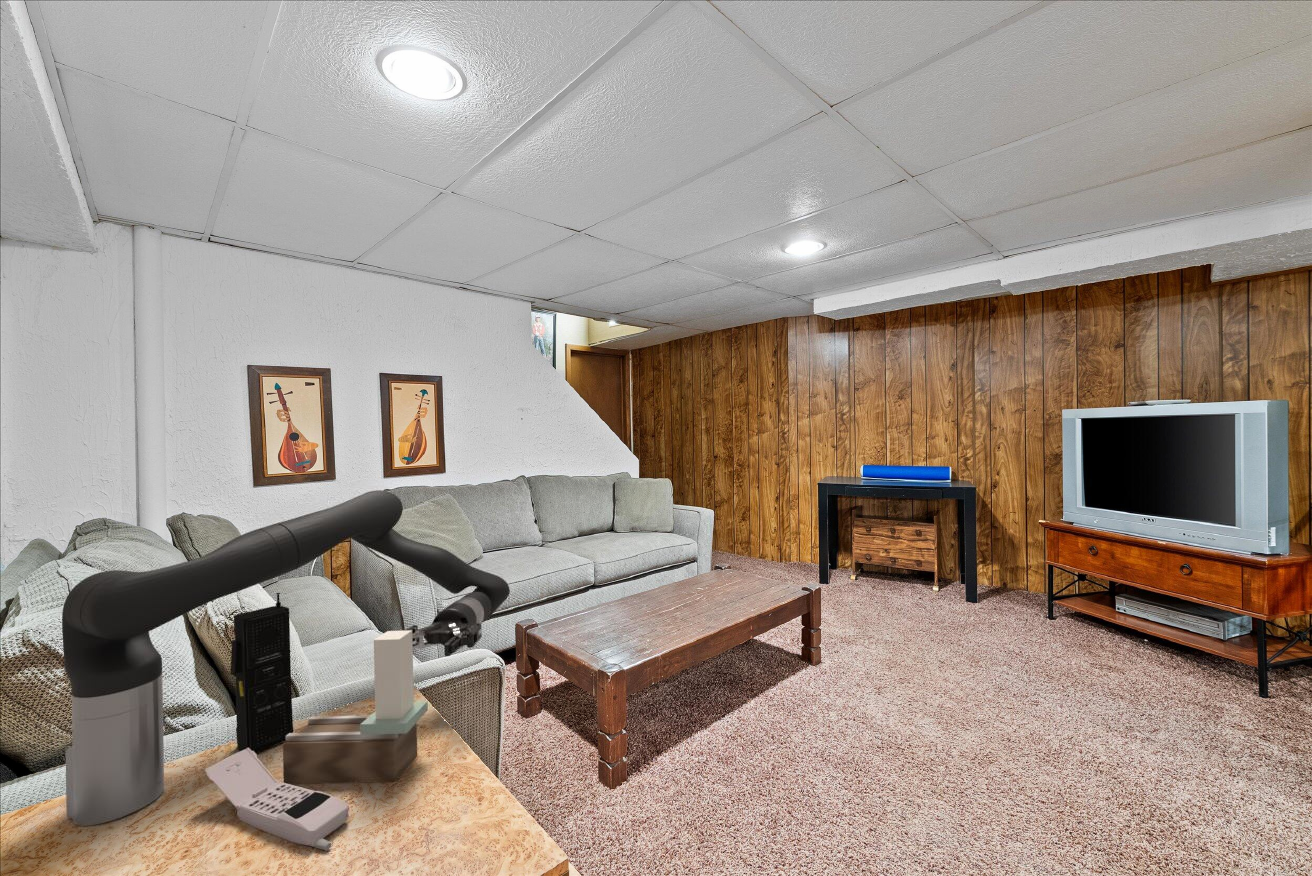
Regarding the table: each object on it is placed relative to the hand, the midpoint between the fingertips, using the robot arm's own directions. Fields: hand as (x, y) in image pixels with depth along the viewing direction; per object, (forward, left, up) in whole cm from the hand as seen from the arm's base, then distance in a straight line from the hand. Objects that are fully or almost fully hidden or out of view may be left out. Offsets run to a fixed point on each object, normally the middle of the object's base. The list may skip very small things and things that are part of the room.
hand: (422, 651), depth 92 cm
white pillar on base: (0, -9, -7) cm, 12 cm away
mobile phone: (-11, -20, -15) cm, 27 cm away
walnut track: (-7, -9, -15) cm, 19 cm away
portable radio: (-28, -2, -15) cm, 31 cm away
